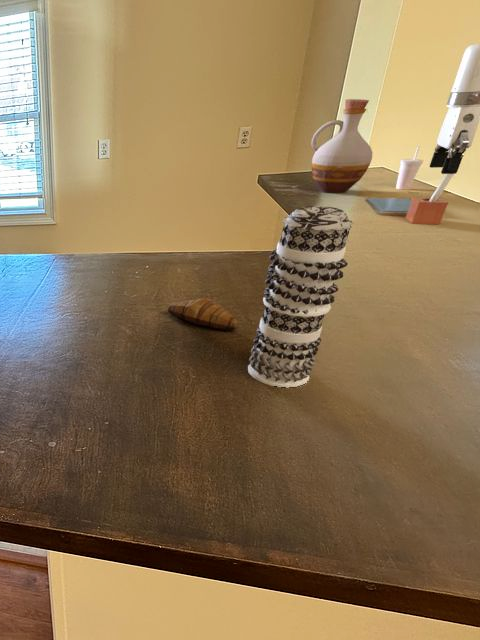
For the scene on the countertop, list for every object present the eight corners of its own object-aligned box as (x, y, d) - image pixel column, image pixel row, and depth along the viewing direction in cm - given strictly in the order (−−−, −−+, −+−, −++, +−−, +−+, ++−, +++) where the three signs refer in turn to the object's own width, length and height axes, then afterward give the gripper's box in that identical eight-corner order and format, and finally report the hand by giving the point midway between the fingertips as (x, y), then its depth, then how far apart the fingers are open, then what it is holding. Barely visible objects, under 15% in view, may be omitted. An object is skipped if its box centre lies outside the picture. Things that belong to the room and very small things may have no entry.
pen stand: (432, 218, 139) (440, 197, 136) (439, 224, 134) (448, 202, 131) (405, 218, 141) (412, 197, 138) (411, 223, 136) (419, 201, 133)
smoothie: (414, 190, 169) (429, 147, 162) (392, 190, 172) (406, 148, 165) (412, 187, 173) (426, 145, 166) (390, 186, 176) (403, 145, 169)
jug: (294, 193, 177) (315, 102, 162) (305, 184, 189) (326, 98, 174) (357, 197, 166) (386, 99, 151) (365, 188, 177) (393, 96, 162)
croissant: (244, 325, 89) (249, 301, 86) (228, 338, 85) (232, 313, 83) (177, 307, 98) (180, 284, 95) (159, 318, 94) (162, 295, 91)
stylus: (422, 221, 138) (454, 170, 130) (424, 222, 137) (456, 171, 129) (416, 219, 138) (447, 169, 131) (417, 221, 137) (449, 170, 129)
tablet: (416, 201, 156) (417, 198, 156) (436, 216, 141) (437, 212, 140) (365, 200, 162) (366, 197, 161) (379, 214, 146) (380, 211, 145)
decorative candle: (254, 388, 71) (294, 220, 59) (238, 358, 79) (270, 203, 67) (321, 390, 70) (377, 218, 57) (298, 359, 77) (343, 201, 65)
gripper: (501, 100, 114) (472, 176, 122) (473, 96, 127) (448, 164, 136) (461, 103, 117) (435, 176, 125) (437, 98, 130) (415, 165, 139)
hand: (442, 170), depth 131 cm, fingers open, 9 cm apart
